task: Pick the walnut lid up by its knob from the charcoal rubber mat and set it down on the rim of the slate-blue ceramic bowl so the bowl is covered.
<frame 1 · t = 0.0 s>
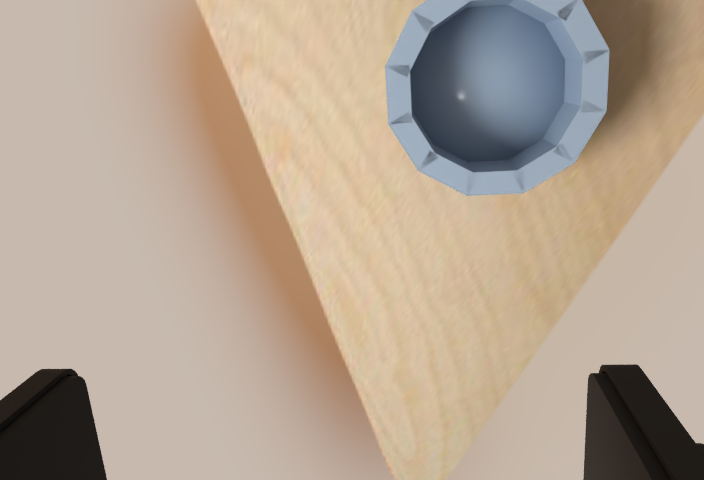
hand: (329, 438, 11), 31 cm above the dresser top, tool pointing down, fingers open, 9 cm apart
bowl: (485, 86, 38), on the dresser top
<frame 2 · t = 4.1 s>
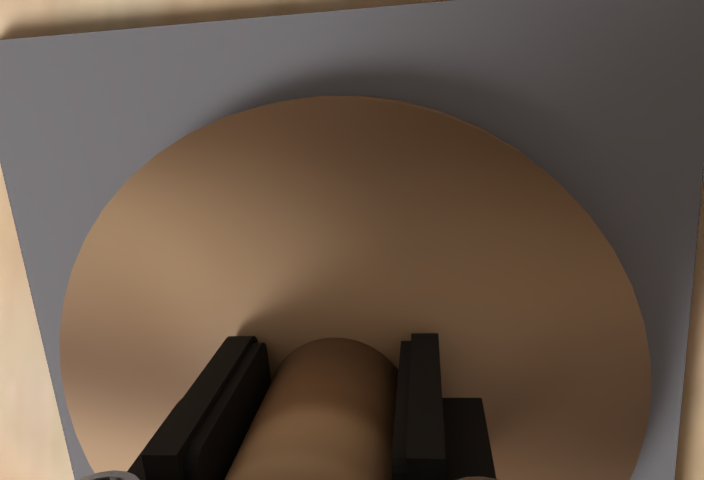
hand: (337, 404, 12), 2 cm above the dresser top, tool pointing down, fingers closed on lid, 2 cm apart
mat: (348, 362, 13), on the dresser top
lid: (345, 375, 13), point 1 cm above the dresser top, touching gripper, mat
when the fingers open (7 cm above the dresser top, at t = 9.1 s): lid drops 1 cm, resting on bowl.
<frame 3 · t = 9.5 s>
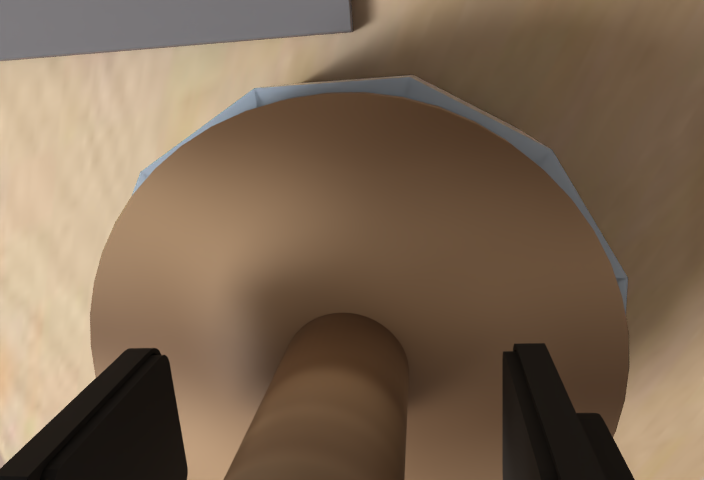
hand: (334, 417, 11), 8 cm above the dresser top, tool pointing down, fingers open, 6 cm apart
bowl: (369, 278, 19), on the dresser top
lid: (351, 350, 14), point 5 cm above the dresser top, touching bowl
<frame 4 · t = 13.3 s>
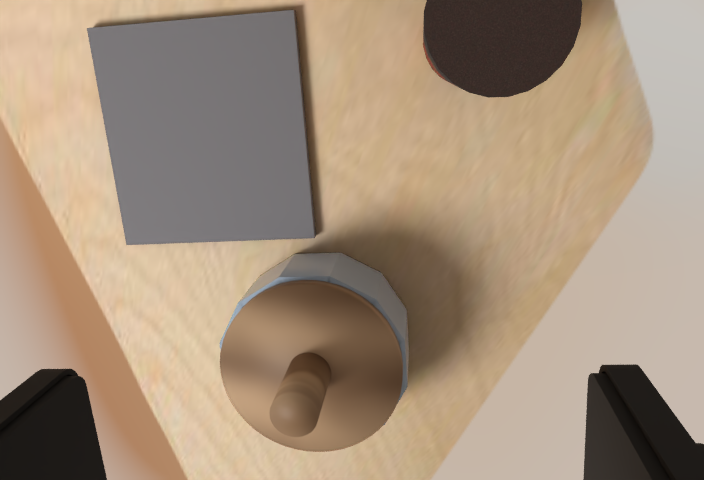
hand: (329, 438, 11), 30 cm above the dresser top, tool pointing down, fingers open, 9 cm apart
bowl: (324, 332, 44), on the dresser top
mat: (207, 135, 40), on the dresser top
lid: (312, 364, 39), point 5 cm above the dresser top, touching bowl
deodorant: (470, 38, 37), on the dresser top
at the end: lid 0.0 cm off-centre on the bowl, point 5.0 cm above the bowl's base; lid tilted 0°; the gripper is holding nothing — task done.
